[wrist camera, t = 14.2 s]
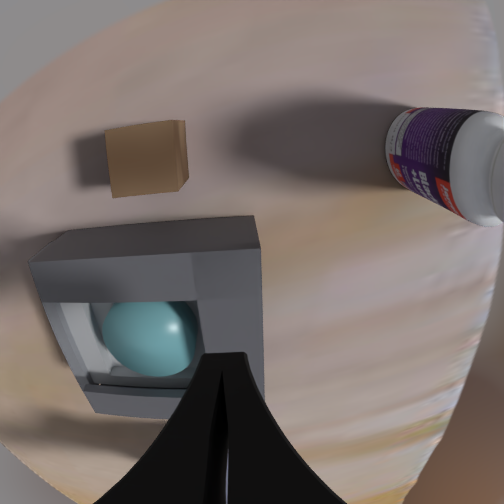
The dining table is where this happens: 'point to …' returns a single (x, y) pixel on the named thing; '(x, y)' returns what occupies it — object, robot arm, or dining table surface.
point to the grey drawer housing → (163, 289)
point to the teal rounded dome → (151, 336)
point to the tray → (97, 354)
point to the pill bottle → (451, 160)
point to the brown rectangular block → (147, 158)
